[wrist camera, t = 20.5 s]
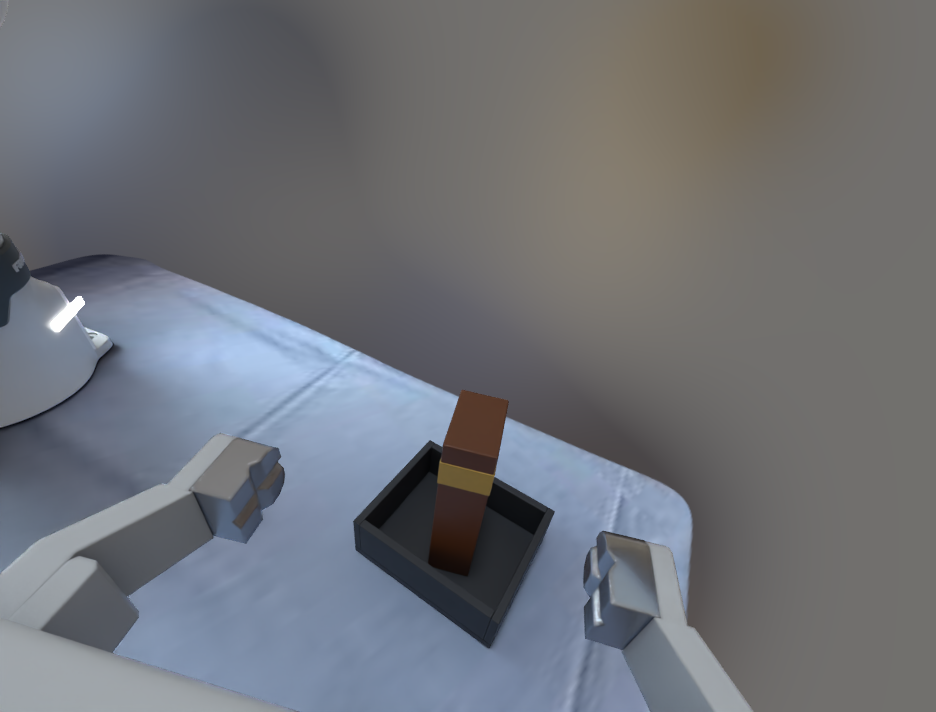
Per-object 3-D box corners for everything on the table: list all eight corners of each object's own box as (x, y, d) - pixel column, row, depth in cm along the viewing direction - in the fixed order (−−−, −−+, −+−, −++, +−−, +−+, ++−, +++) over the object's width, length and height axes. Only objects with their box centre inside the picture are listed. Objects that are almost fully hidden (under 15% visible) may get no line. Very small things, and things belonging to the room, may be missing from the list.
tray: (355, 549, 33) (353, 520, 30) (427, 468, 40) (429, 439, 37) (489, 648, 28) (499, 624, 26) (543, 538, 35) (555, 511, 33)
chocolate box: (426, 566, 32) (441, 445, 23) (443, 509, 36) (461, 388, 27) (468, 578, 31) (498, 459, 23) (480, 518, 36) (509, 399, 27)
